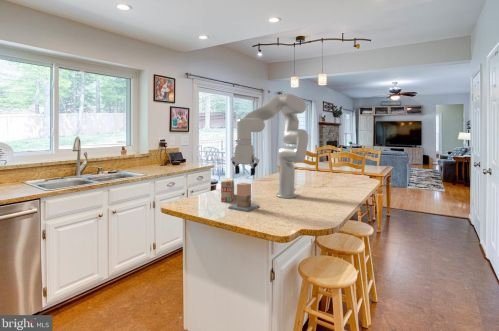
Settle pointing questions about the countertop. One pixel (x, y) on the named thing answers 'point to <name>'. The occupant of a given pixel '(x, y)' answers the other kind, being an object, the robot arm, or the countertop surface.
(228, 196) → the stack of blocks
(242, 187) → the salmon pink cube
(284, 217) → the countertop surface
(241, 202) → the walnut brick
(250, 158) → the robot arm
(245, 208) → the baseplate
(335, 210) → the countertop surface
